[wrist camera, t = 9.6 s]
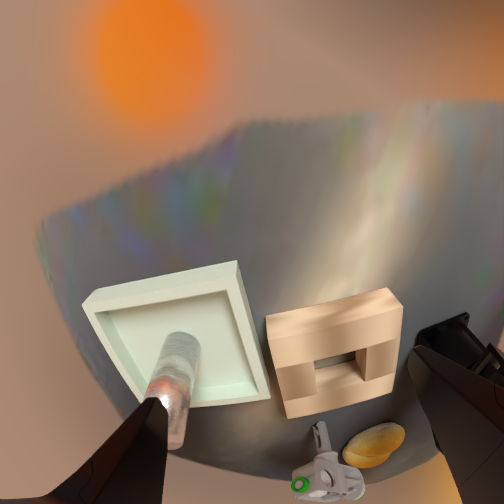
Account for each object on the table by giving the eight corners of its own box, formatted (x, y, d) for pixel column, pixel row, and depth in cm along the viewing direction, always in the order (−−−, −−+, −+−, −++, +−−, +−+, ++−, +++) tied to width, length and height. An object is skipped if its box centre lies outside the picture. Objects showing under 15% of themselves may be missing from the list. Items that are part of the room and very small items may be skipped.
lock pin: (193, 328, 21) (170, 423, 13) (205, 357, 22) (190, 449, 14) (158, 333, 21) (124, 422, 13) (172, 361, 22) (147, 448, 14)
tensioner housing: (386, 287, 21) (403, 306, 18) (381, 371, 25) (391, 391, 22) (265, 315, 22) (267, 340, 19) (284, 395, 25) (287, 419, 22)
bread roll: (410, 416, 29) (420, 438, 25) (379, 450, 32) (385, 469, 29) (361, 421, 28) (369, 446, 25) (332, 455, 32) (337, 477, 28)
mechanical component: (334, 439, 29) (349, 504, 20) (278, 417, 27) (286, 498, 17) (352, 428, 29) (372, 494, 19) (298, 404, 26) (312, 488, 17)
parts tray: (237, 259, 20) (235, 276, 18) (269, 378, 24) (270, 398, 22) (95, 289, 21) (81, 304, 18) (150, 390, 25) (144, 408, 23)
